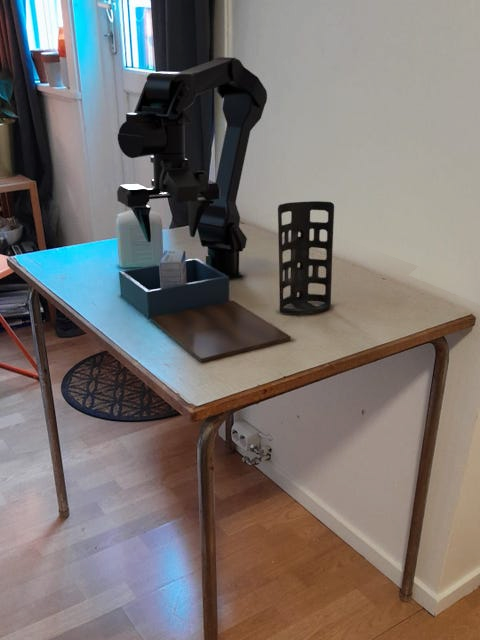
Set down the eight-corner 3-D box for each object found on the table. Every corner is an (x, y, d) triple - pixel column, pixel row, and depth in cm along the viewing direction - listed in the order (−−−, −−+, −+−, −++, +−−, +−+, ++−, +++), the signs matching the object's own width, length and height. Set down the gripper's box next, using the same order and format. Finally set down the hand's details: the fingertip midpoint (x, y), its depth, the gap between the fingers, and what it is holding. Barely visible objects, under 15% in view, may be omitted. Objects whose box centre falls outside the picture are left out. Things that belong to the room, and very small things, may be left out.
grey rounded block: (162, 261, 153) (160, 206, 146) (165, 266, 149) (162, 211, 143) (118, 263, 151) (113, 208, 144) (119, 269, 147) (114, 213, 141)
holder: (289, 318, 124) (290, 208, 115) (269, 308, 130) (269, 203, 121) (337, 309, 128) (342, 202, 119) (316, 300, 134) (319, 198, 125)
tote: (197, 282, 141) (196, 257, 138) (229, 302, 131) (229, 276, 128) (120, 296, 133) (118, 271, 130) (148, 319, 123) (146, 292, 121)
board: (233, 304, 130) (233, 300, 130) (290, 340, 116) (290, 336, 116) (150, 321, 122) (150, 317, 122) (201, 363, 108) (201, 358, 108)
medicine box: (183, 305, 129) (182, 262, 124) (161, 305, 129) (158, 261, 124) (187, 291, 135) (185, 249, 131) (165, 290, 135) (163, 249, 131)
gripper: (137, 161, 108) (142, 255, 116) (236, 156, 116) (233, 244, 124) (113, 151, 116) (119, 240, 124) (206, 147, 124) (206, 230, 132)
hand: (170, 239), depth 126 cm, fingers open, 9 cm apart
